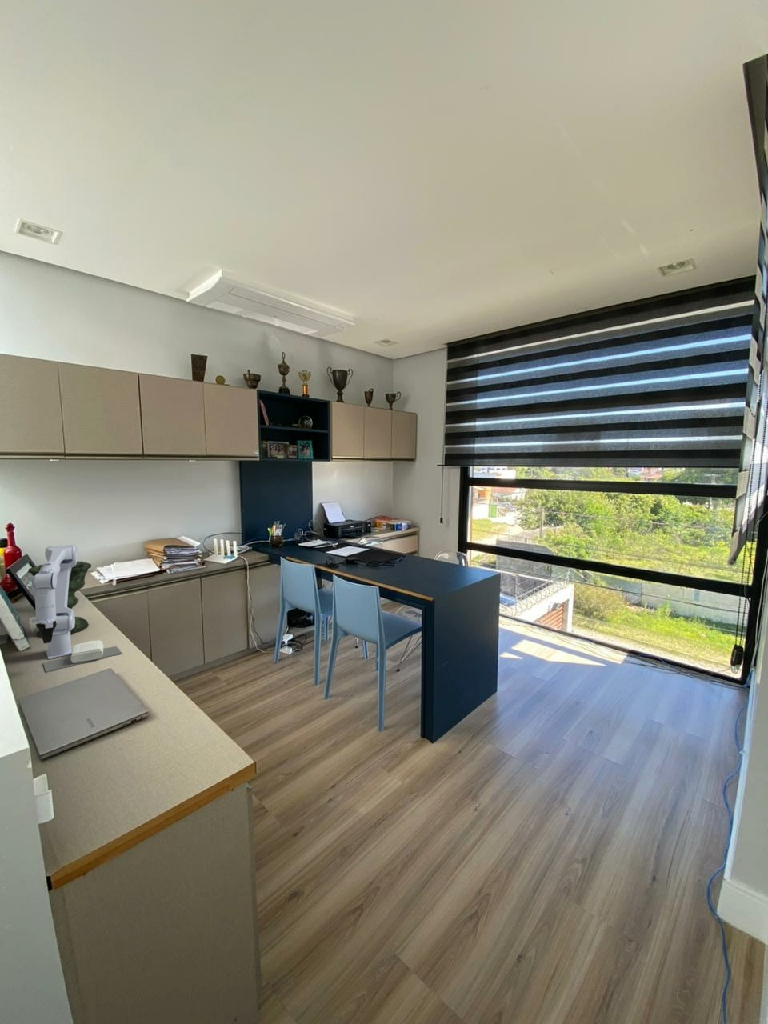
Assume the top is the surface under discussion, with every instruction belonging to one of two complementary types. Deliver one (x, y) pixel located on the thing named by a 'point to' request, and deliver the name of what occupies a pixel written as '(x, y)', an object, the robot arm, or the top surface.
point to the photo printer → (87, 651)
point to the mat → (68, 663)
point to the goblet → (72, 590)
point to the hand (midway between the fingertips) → (47, 642)
